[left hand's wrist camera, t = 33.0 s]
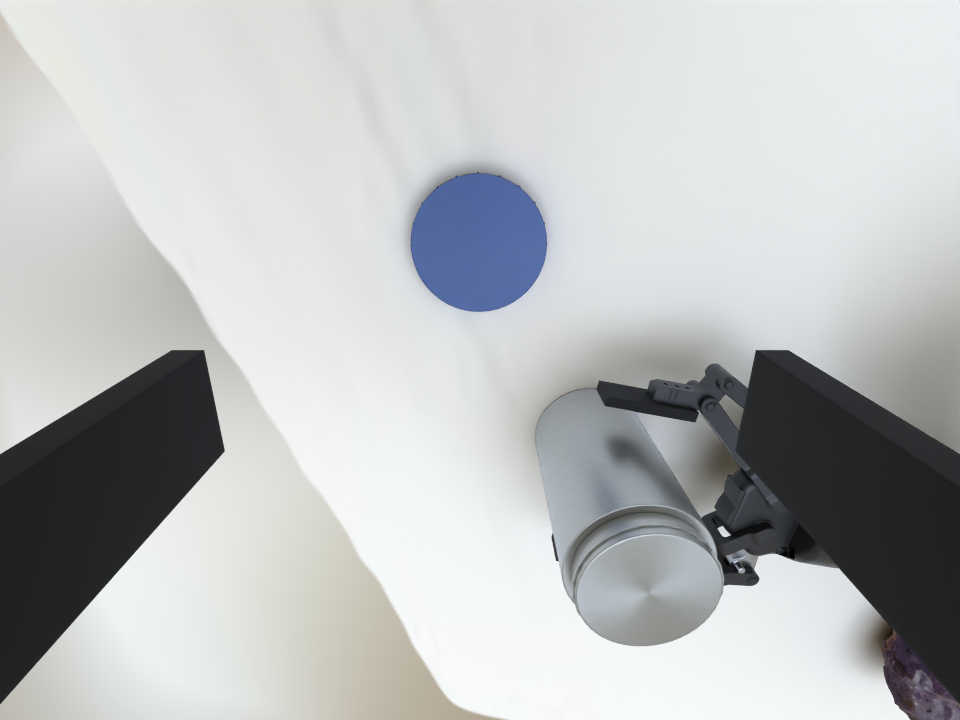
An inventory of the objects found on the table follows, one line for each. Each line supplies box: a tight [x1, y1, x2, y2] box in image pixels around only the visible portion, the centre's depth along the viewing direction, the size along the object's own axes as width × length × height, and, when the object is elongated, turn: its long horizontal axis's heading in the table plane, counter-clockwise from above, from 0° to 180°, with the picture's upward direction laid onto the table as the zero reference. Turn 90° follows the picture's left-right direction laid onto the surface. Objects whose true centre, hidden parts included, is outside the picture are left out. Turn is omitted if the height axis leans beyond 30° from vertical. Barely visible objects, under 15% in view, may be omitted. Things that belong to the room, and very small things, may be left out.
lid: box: [411, 172, 547, 312], centre depth 38 cm, size 10×10×2 cm
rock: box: [881, 629, 960, 720], centre depth 50 cm, size 12×9×10 cm
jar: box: [535, 389, 724, 646], centre depth 37 cm, size 9×9×18 cm
